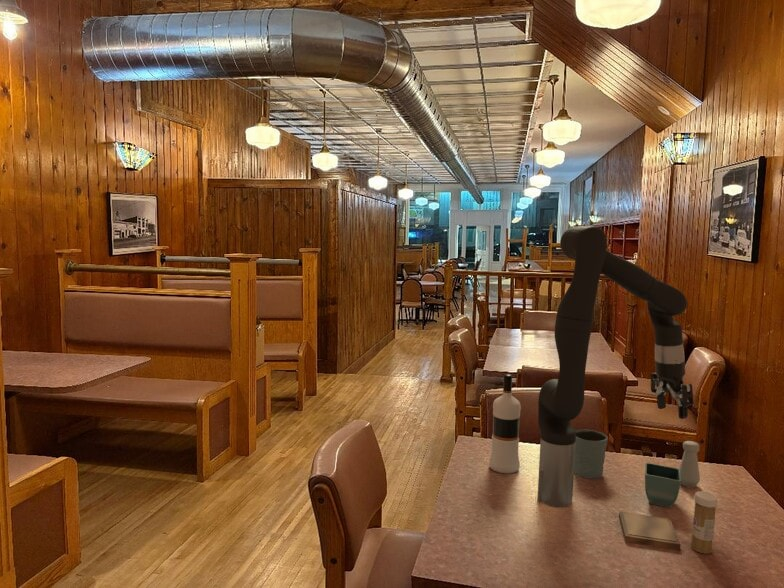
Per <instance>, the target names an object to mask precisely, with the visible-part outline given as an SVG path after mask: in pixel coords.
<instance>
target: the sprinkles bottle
mask: <svg viewBox="0 0 784 588" xmlns="http://www.w3.org/2000/svg"><path fill="white" fill-rule="evenodd" d="M693 499H694V500H693V501H694V512H693V518H692V519H693V520H692V529H691V541H690V547H691V549H692V550H693V551H695V552H697V553H700V554H712V552H713V540H714V533H715V524H716V523H715V522H716V509H717V505H718V497H717V496H716V494H713V493H711V492H709V491H704V490H703V491H702V490H700V491H699V490H698V491H696V492H695V493H694V498H693Z"/></svg>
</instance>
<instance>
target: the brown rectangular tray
mask: <svg viewBox="0 0 784 588" xmlns="http://www.w3.org/2000/svg"><path fill="white" fill-rule="evenodd" d="M618 519H619V522H620V527H621V531H622V536H623V539H624V542H625V543H631V544H637V545H638V544H639V545H644V546H651V547H655V548H656V547H657V548H663V549H671V550H676V551H680V550H681V543H680V540H679V537H678V535H677V532H676V531H675V528H674V525H673V523H672V521H671V519H670V518H669V517H667V518H666V517H660V516H654V515H653V516H652V515H648V514H647V515H646V514H639V513H633V512H625V511H619V512H618Z"/></svg>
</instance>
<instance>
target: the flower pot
mask: <svg viewBox="0 0 784 588" xmlns="http://www.w3.org/2000/svg"><path fill="white" fill-rule="evenodd" d="M680 488H681V476H680V469H679V467H678V468H677V467H674V466H665V465H661V464H657V463H656V464H655V463H651V462H650V463H649V462H645V463H644V490H645V496H646V498H647V500H648V503H649V504H652V505H656V506H660V507H666V508H671V507H672V506H673V505H674V504H675V503H676V501H677V500H678V496H679V493H680Z"/></svg>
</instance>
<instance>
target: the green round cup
mask: <svg viewBox="0 0 784 588" xmlns="http://www.w3.org/2000/svg"><path fill="white" fill-rule="evenodd" d="M575 432H576V445H575V462H574V475H577V476H578V477H581V478H585V479H592V480H593V479H594V480H595V479H599V478H601V477H603V473H604V464H605V459H606V450H607V445H608V439H609V438H608V436H607V435H606V434H604V433H603V432H601V431H597V430H593V429H592V430H591V429H577V430H575Z"/></svg>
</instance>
